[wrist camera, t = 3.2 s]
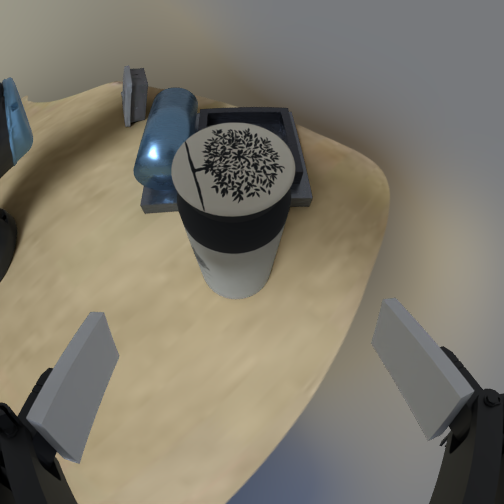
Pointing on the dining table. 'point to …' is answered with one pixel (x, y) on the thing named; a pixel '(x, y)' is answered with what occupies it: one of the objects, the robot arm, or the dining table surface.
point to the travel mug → (234, 203)
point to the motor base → (190, 122)
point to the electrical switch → (134, 95)
